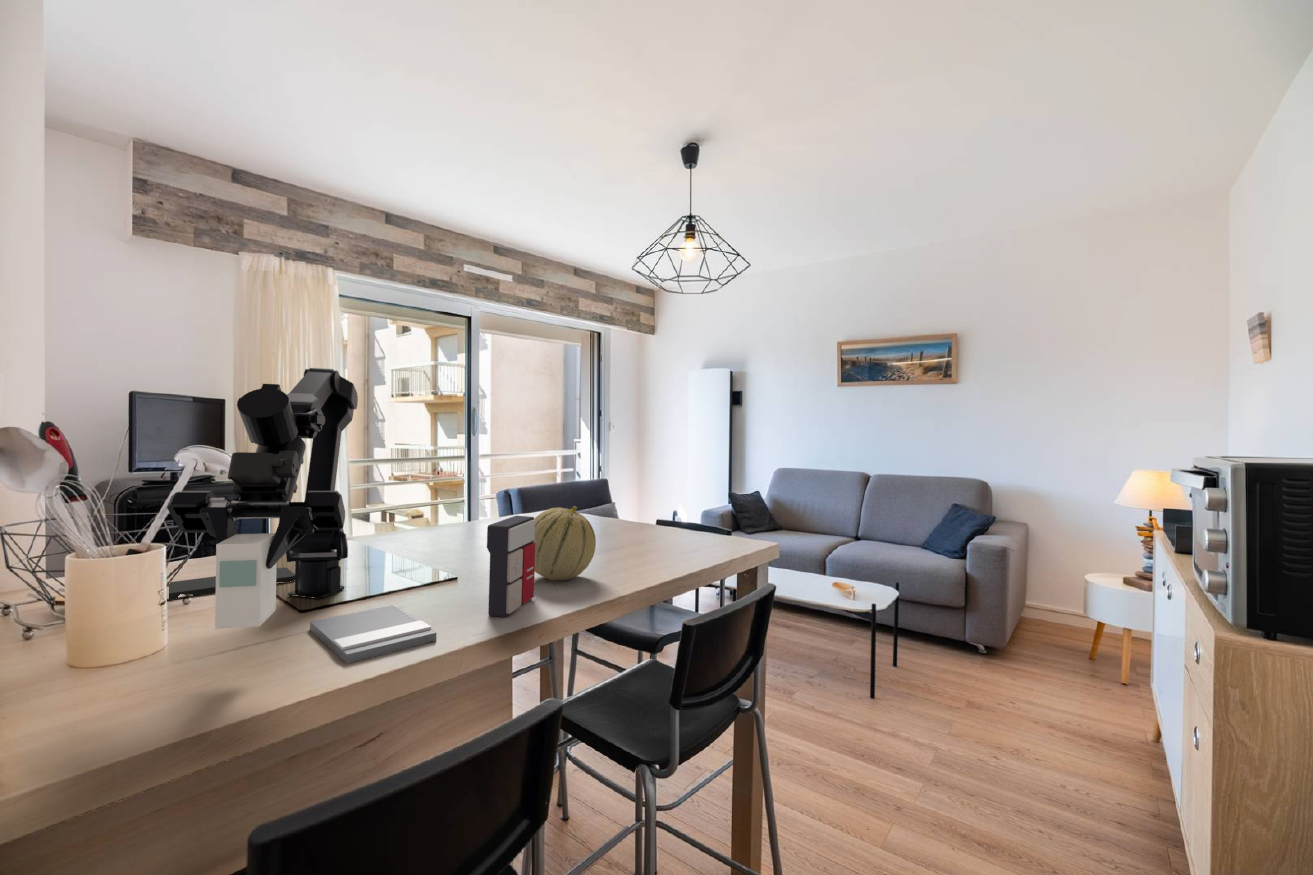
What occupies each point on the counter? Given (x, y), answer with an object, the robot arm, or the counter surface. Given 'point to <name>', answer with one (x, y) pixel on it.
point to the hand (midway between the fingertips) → (244, 567)
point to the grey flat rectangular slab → (371, 633)
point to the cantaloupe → (562, 543)
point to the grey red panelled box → (511, 564)
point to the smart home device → (214, 584)
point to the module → (244, 581)
